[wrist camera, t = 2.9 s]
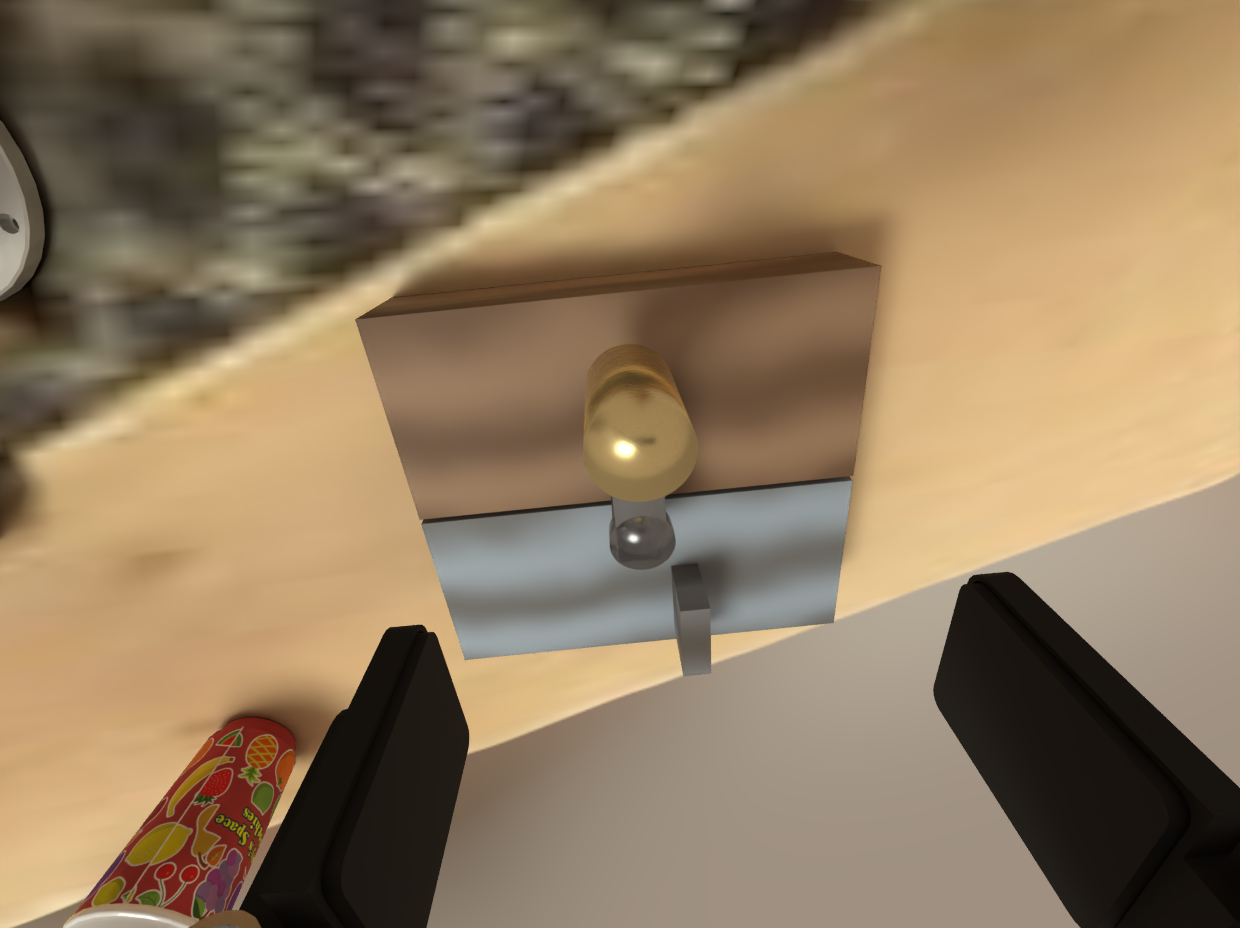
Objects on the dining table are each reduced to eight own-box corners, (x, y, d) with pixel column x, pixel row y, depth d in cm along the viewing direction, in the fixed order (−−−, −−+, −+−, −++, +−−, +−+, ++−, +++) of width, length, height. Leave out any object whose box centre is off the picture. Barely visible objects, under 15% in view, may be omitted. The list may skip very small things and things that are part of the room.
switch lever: (677, 551, 28) (702, 662, 21) (608, 558, 28) (612, 671, 21) (666, 331, 22) (696, 393, 16) (580, 340, 22) (576, 405, 16)
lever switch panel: (391, 297, 29) (317, 342, 21) (837, 252, 29) (927, 280, 21) (479, 605, 39) (451, 711, 31) (806, 572, 39) (859, 670, 31)
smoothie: (325, 765, 47) (166, 1118, 29) (228, 771, 47) (9, 1130, 29) (295, 701, 43) (90, 1065, 25) (189, 708, 43) (-92, 1078, 25)
